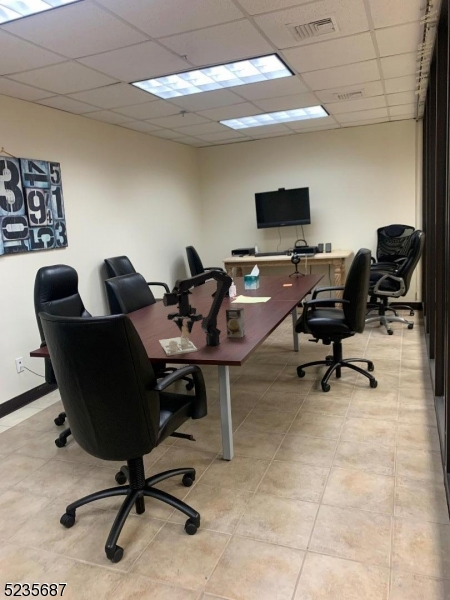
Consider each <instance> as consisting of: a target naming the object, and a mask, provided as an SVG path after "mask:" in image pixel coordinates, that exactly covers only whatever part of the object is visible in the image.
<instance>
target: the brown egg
mask: <svg viewBox="0 0 450 600" xmlns="http://www.w3.org/2000/svg"><path fill="white" fill-rule="evenodd" d="M191 333H192V332H191ZM191 333H189V331H188V326H187V323H186V324H183V326H182V333H181V336H182V337H183V338H189V339H190V338H191Z"/></svg>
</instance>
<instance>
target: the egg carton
mask: <svg viewBox="0 0 450 600" xmlns="http://www.w3.org/2000/svg"><path fill="white" fill-rule="evenodd" d="M180 338H181V336H179V337H172V338H163V339H158V342H159V343H160V345H161V347H162V349H163V350H164V352H165V354H166V356H169V357H170V356H174V355H175V356H176V355H182V354H187V353H188V354H189V353H194V352H198V348H197V347H196V346H195V344H194V343H193V341H190V340H189V346H184V347H181V339H180ZM171 340H176V341H177V343H178V352H172V353H170V349H169V342H170V341H171Z"/></svg>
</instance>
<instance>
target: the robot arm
mask: <svg viewBox="0 0 450 600" xmlns="http://www.w3.org/2000/svg"><path fill="white" fill-rule="evenodd" d="M211 279H213V280H214V281H216V291H215V294H214V297H213V301H212V303H211V306H210V309H209V311H208V315H206V317H205V316H203V314H202V313H197V308H196V307H192V304H190V297H189V295H193V292H192V291H191V290H190V289H192V288H193V287H195V285H197V284H200V283H203V282H207V281H208V280H211ZM233 282H234V281H233V277H231V276H230V275H226V274H223V273H221V272H219V271H217V270H216V269H210V270H207V271H205V272H202V273H199V274H196V275H194V276H191V277H185V278H178V279H176V281H175V283H174V287H173V288H172V289H171V292H164V293H163V296H162V304H163V306H164V308H165V307H172V306H176V305H177V306H176V309H178V312H174V311H173V312H170V313H168V314H167V315H166V317H167V321H168V320H169V321H173V322H174V323H175V324H176V326H177V327H178V329H179V331H180V332H181V334H182V326H183V325H184V323H183V322H184V319H186V320H187V321H186V324H187V326H188V331H189V333H192V331H193V326H194V323H195V322H196V323H197V322H199V321H201V323H200V324H201V325H200V327H201V330H202V331H203V332H204V334H206V336H205V340H206V344H205V346H206V347H207V346H208V347H215V348H216V347H217V346H219V345H221V344H222V342H220V335H221V332H222V331H221V330H220V329H219V328H218V316H219V312H220V310H221V306H222V304H223V301H224V299H225V297H226V296H225V295H226V293H227V292H228V291H229V290H230V288H231V287H232V285H233Z"/></svg>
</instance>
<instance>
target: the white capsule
mask: <svg viewBox="0 0 450 600" xmlns="http://www.w3.org/2000/svg"><path fill="white" fill-rule="evenodd" d="M169 349H170V353H172V352H178V343H177V341H176V340H171V341H170V342H169Z"/></svg>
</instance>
